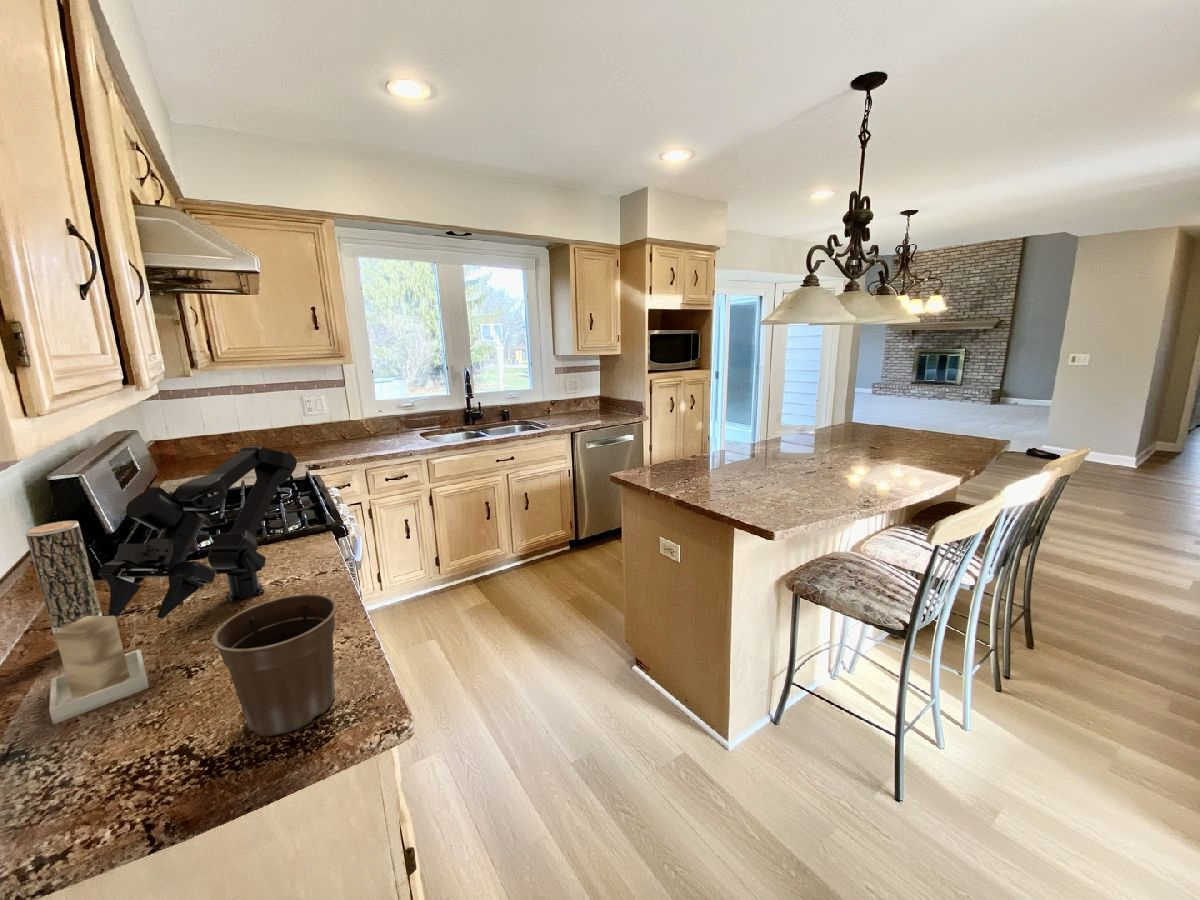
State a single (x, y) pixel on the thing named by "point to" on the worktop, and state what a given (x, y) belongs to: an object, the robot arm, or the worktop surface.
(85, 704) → the tray
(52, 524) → the bark-printed cylinder
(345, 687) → the worktop surface
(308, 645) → the plant pot
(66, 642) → the beech block
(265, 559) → the robot arm
